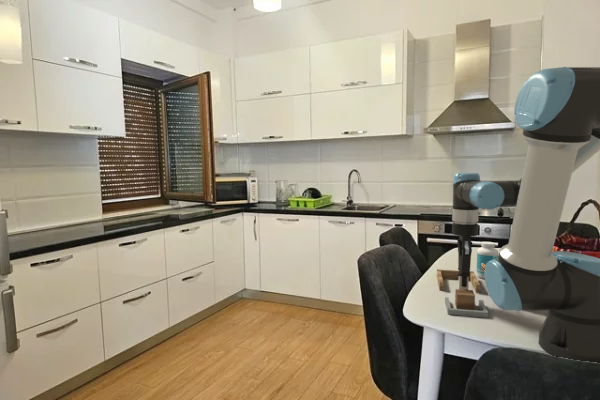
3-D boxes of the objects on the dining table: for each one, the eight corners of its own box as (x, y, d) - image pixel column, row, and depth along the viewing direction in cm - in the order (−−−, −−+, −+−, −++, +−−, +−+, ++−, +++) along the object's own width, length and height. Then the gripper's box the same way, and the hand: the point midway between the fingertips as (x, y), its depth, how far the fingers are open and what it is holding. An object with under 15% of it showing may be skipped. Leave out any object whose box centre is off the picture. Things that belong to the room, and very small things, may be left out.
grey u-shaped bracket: (488, 317, 113) (488, 312, 112) (447, 314, 116) (447, 309, 116) (482, 304, 123) (482, 300, 122) (444, 301, 126) (445, 297, 126)
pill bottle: (496, 281, 145) (497, 245, 144) (475, 278, 149) (476, 243, 148) (498, 275, 152) (499, 241, 150) (477, 273, 156) (478, 240, 154)
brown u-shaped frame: (479, 293, 133) (480, 284, 133) (439, 290, 136) (439, 282, 136) (472, 279, 148) (473, 271, 148) (436, 276, 152) (436, 269, 151)
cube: (474, 311, 118) (475, 295, 117) (456, 310, 119) (457, 294, 118) (472, 305, 122) (472, 290, 122) (455, 304, 124) (455, 289, 123)
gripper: (481, 226, 114) (479, 303, 117) (475, 219, 127) (472, 289, 129) (454, 225, 116) (452, 301, 119) (450, 218, 129) (448, 287, 131)
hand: (463, 295), depth 124 cm, fingers closed
